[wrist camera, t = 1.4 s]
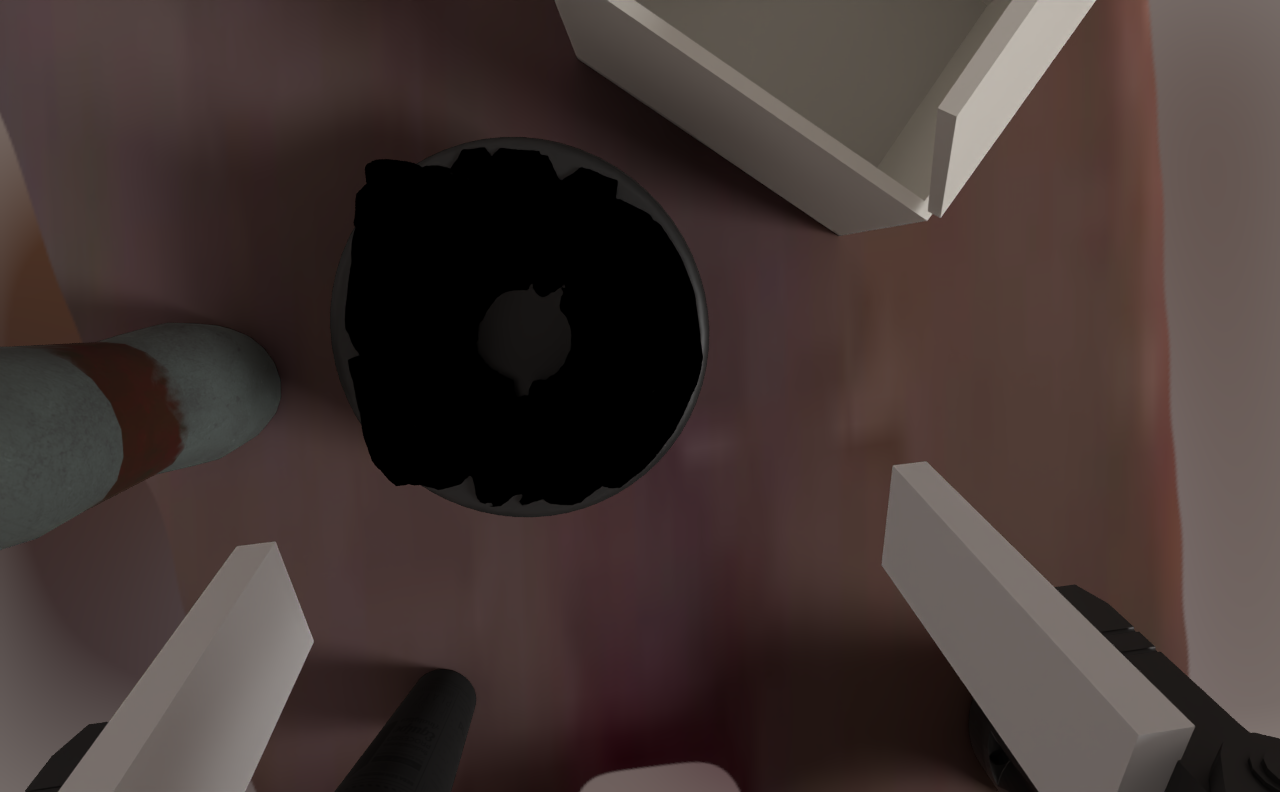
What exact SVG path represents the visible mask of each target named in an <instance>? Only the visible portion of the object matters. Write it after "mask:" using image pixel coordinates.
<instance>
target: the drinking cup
mask: <svg viewBox="0 0 1280 792" xmlns="http://www.w3.org/2000/svg"><path fill="white" fill-rule="evenodd" d="M475 705H476V694H475V691H474V688H473V686H472V685H471V683H470V682H469V681H468V680H467V679H466V678H465V677H464V676H463V675H461V674H459V673H457V672H455V671H451V670H445V669H440V670H434V671H431V672H429V673H427V674H425V675H424V676H423V677H421V678H420V680H419V681H418V682H417V683H416V685H415V686H414V687H413V689H412V690H411V691H410V693H409V694H408V695H407V697H406V698H405V699H404V701H403V702H402V703H401V705H400V706H399V707H398V709H397V710H396V711H395V712H394V714H393V715H392V716H391V718H390V719H389V720H388V722H387V723H386V724H385V726H384V727H383V728H382V730H381V731H380V732H379V734H378V735H377V736H376V738H375V739H374V740H373V742H372V743H371V744H370V746H369V747H368V748H367V750H366V751H365V752H364V753H363V755H362V756H361V757H360V759H359V760H358V761H357V763H356V764H355V765H354V767H353V768H352V769H351V771H350V772H349V773H348V775H347V776H346V777H345V779H344V780H343V781H342V783H341V784H340V785H339V787H338V788H337V789H336V790H335V792H451V790H452V786H453V783H454V779H455V776H456V772H457V769H458V765H459V762H460V758H461V755H462V751H463V748H464V744H465V740H466V737H467V733H468V730H469V726H470V723H471V719H472V716H473V712H474V709H475Z"/></svg>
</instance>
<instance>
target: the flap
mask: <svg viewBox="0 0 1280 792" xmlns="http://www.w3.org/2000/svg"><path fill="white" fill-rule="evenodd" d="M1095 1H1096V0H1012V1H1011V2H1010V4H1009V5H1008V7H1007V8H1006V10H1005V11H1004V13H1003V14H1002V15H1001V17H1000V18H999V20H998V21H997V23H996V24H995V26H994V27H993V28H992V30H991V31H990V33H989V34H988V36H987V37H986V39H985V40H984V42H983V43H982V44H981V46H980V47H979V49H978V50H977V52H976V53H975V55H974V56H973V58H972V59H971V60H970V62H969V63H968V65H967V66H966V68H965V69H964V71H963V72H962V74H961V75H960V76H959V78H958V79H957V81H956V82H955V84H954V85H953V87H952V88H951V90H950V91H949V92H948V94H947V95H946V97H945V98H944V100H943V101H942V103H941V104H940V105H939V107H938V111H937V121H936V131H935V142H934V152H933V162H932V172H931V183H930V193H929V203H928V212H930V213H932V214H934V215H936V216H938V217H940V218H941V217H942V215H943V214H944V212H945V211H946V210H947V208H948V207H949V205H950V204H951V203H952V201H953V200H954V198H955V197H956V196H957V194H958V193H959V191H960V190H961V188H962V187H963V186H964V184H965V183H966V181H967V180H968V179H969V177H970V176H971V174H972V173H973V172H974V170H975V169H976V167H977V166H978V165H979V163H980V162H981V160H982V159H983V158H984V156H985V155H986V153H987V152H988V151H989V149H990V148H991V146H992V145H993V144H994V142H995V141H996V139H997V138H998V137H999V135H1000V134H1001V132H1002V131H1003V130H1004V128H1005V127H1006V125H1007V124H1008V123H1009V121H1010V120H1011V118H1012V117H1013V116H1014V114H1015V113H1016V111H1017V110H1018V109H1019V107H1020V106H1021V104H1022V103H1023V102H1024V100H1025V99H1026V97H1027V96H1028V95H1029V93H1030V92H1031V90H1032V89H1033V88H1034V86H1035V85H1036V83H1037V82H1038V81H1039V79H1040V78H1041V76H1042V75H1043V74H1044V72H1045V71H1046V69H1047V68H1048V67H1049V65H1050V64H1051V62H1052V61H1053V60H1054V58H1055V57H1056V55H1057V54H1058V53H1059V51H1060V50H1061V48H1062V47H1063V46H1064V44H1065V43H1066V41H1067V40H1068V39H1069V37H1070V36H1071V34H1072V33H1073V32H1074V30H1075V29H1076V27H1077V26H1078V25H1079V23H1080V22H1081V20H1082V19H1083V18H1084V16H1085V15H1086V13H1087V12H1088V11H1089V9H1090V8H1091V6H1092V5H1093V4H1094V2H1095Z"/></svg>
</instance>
